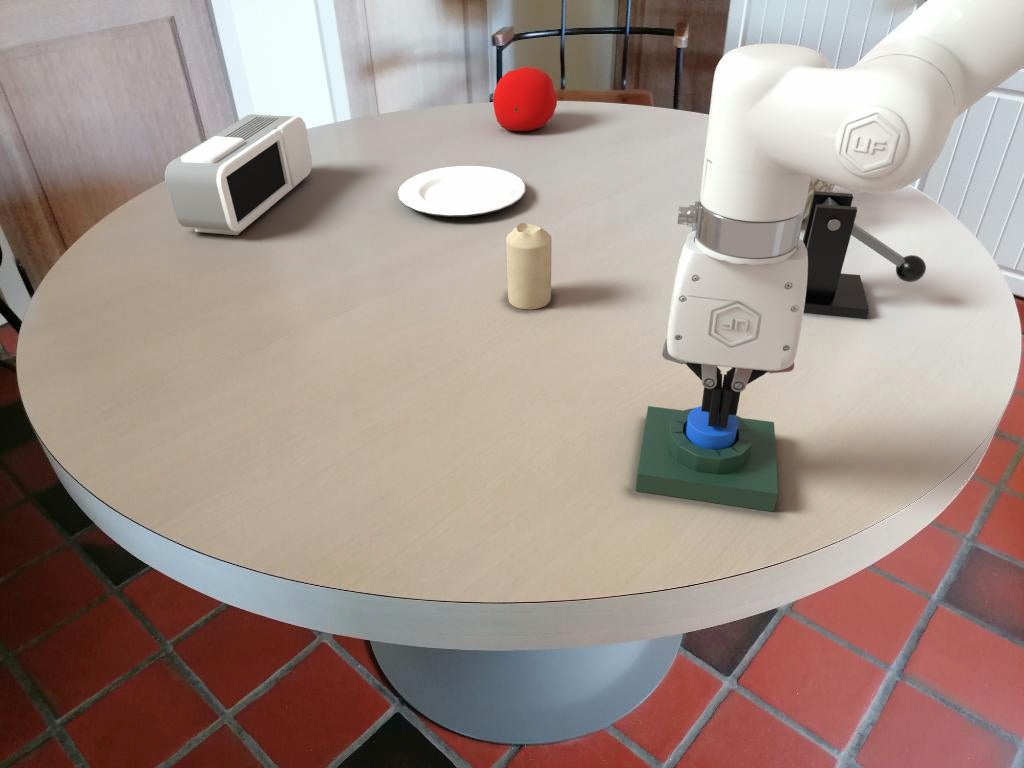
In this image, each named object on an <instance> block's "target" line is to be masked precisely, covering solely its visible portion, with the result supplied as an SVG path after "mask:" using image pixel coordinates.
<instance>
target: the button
mask: <svg viewBox="0 0 1024 768" xmlns="http://www.w3.org/2000/svg"><path fill="white" fill-rule="evenodd" d="M694 408H695V409H693V410H692V411H691V412H690V413H689V415H688V420H687V427H686V435H687V438H688V439H689V440H690V441H691V442H692V443H693V444H695V445H697V446H699V447H701V448H704V449H711V450H721V449H725V448H728V447H730V446H731V445H732V444H733V443H734V441H735V438H736V433H737V428H738V421H737V418H736V417H735V415H729V417H728V423H727V428H721V426H718V421H719V413H718V419H717V425H714V427H713V426H708V417H709V412H702V411H701V409H702V405H700V406H697V407H694Z"/></svg>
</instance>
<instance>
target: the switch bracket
mask: <svg viewBox="0 0 1024 768" xmlns="http://www.w3.org/2000/svg"><path fill="white" fill-rule="evenodd" d="M828 197H829V198H831V199H832V200H834V201H835V202H837V203H838V204H840V205H841V206H835V205H822V204H823V203H824V202H825V201H826V199H827V198H828ZM853 200H854V195H853V193H850V192H849V193H847V192H833V191H832V192H819V191H814V192H813V197H812V201H811V205H810V210H809V214H808V217H807V218H806V223H805V229H804V233H803V237H802V241H803V242H804V244H805V247H806V249H807V254H808V275H807V288H806V297H805V305H804V313H803V314H805V313H806V314H813V315H814V314H815V315H824V316H825V315H826V316H833V317H844V318H853V319H854V318H855V319H864V320H865V319H866V320H867V319H868V316H869V313H870V307H869V303H868V300H867V296H866V293H865V292H866V291H865V288H864V285H863V281H862V277H861V275H860V274H853V273H842V270H843V267H844V263H845V259H846V256H847V251H848V249H849V248H848V247H849V244H850V241H851V236H852V235H851V233H852V229H853V225H854V224H855V221H856V217H857V214H858V208H857V206H852V204H853Z"/></svg>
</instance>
